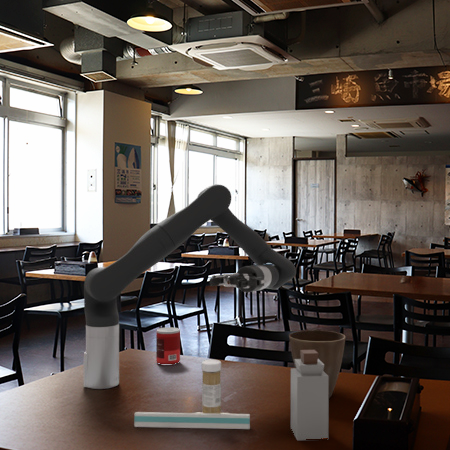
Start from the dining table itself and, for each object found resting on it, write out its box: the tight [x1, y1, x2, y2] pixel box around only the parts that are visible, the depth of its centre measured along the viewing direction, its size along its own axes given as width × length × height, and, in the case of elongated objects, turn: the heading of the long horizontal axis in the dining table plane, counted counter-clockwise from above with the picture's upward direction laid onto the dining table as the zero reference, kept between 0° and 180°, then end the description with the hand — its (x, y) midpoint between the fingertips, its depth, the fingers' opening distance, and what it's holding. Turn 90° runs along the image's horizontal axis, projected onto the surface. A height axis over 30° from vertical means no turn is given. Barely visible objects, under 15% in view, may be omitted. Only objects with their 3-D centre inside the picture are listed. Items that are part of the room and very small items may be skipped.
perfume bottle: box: [290, 350, 329, 441], centre depth 118 cm, size 7×7×18 cm
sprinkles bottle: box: [201, 358, 222, 414], centre depth 126 cm, size 5×5×14 cm
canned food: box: [155, 326, 181, 364], centre depth 178 cm, size 8×8×11 cm
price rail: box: [133, 411, 251, 430], centre depth 126 cm, size 26×10×3 cm, turn 87°
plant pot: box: [288, 329, 346, 399], centre depth 144 cm, size 15×15×16 cm
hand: (224, 283), depth 144 cm, fingers open, 8 cm apart
